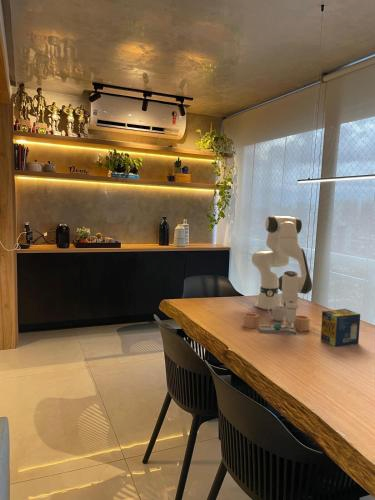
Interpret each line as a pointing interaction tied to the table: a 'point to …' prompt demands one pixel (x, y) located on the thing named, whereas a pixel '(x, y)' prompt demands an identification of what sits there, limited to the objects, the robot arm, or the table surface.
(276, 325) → the ball
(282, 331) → the tray
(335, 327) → the protein box
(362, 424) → the table surface
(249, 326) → the tube
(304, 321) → the tube
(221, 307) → the table surface
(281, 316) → the cup
